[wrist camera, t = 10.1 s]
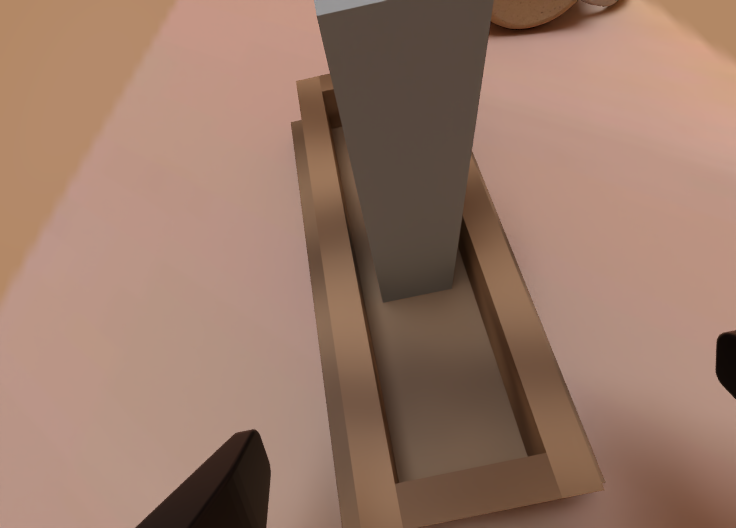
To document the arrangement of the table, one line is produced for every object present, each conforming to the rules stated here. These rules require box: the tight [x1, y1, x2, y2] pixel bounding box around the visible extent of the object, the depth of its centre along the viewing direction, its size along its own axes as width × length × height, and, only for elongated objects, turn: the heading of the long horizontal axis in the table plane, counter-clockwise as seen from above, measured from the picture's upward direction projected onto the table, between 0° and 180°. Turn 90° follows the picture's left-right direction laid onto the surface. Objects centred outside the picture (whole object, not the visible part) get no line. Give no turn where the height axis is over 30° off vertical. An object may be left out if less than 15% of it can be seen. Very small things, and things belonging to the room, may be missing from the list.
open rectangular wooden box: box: [291, 74, 605, 528], centre depth 18 cm, size 20×9×4 cm, turn 10°
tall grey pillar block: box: [314, 0, 494, 303], centre depth 13 cm, size 4×3×12 cm
